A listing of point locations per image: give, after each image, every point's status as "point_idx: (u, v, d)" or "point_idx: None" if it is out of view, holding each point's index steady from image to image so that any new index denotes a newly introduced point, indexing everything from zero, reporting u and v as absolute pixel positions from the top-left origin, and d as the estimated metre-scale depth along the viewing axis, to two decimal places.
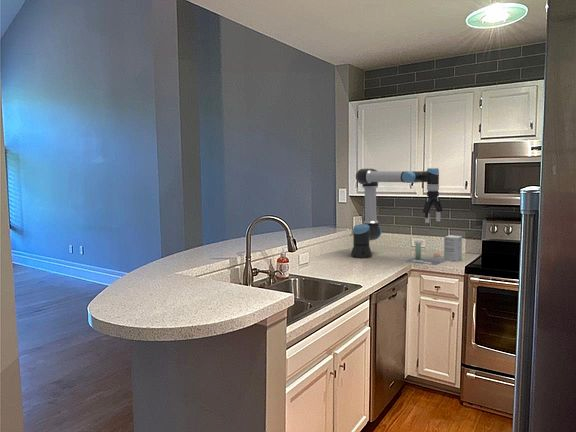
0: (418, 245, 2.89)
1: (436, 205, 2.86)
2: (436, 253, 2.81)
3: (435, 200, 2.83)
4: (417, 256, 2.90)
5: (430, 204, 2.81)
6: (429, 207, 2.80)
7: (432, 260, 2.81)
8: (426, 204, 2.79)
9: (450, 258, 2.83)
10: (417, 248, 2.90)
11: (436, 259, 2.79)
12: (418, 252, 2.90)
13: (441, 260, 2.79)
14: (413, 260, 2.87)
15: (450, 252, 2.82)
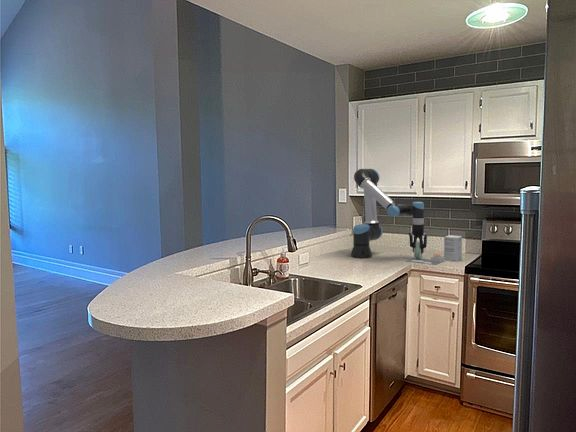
0: (418, 245, 2.89)
1: None
2: (436, 253, 2.81)
3: (418, 233, 2.89)
4: (417, 256, 2.90)
5: (414, 238, 2.92)
6: (413, 242, 2.92)
7: (432, 260, 2.81)
8: None
9: (450, 258, 2.83)
10: (417, 248, 2.90)
11: (436, 259, 2.79)
12: (418, 252, 2.90)
13: (441, 260, 2.79)
14: (413, 260, 2.87)
15: (450, 252, 2.82)
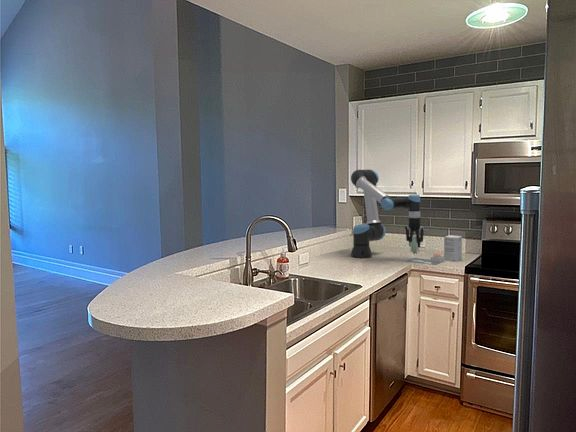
0: (414, 238, 2.83)
1: None
2: (436, 253, 2.81)
3: (414, 226, 2.83)
4: (414, 250, 2.84)
5: None
6: None
7: (432, 260, 2.81)
8: None
9: (450, 258, 2.83)
10: (414, 242, 2.84)
11: (436, 259, 2.79)
12: (415, 246, 2.84)
13: (441, 260, 2.79)
14: (413, 260, 2.87)
15: (450, 252, 2.82)
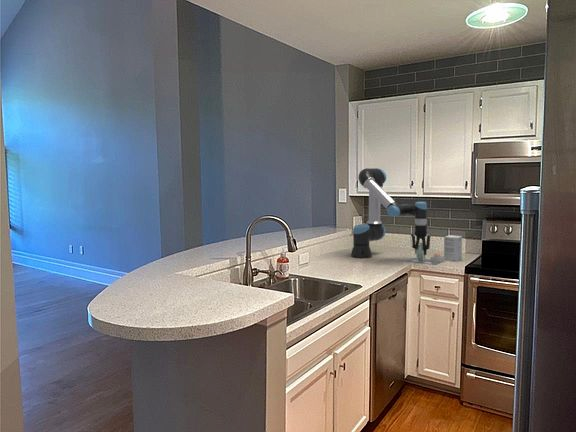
0: (420, 246, 2.81)
1: None
2: (436, 253, 2.81)
3: (420, 234, 2.80)
4: (420, 258, 2.82)
5: None
6: (416, 243, 2.83)
7: (432, 260, 2.81)
8: None
9: (450, 258, 2.83)
10: (420, 249, 2.81)
11: (436, 259, 2.79)
12: (421, 254, 2.81)
13: (441, 260, 2.79)
14: (413, 260, 2.87)
15: (450, 252, 2.82)
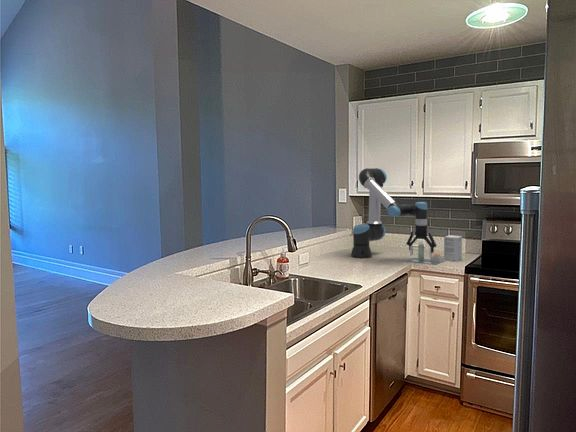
0: (421, 246, 2.81)
1: None
2: (436, 253, 2.81)
3: (421, 235, 2.80)
4: (420, 258, 2.82)
5: None
6: (412, 240, 2.85)
7: (432, 260, 2.81)
8: None
9: (450, 258, 2.83)
10: (420, 250, 2.81)
11: (436, 259, 2.79)
12: (421, 254, 2.81)
13: (441, 260, 2.79)
14: (413, 260, 2.87)
15: (450, 252, 2.82)
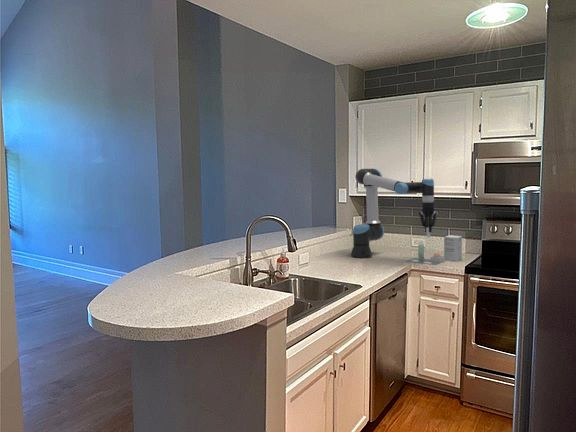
0: (421, 246, 2.81)
1: None
2: (436, 253, 2.81)
3: (428, 211, 2.78)
4: (420, 258, 2.82)
5: (425, 217, 2.80)
6: (425, 221, 2.80)
7: (432, 260, 2.81)
8: None
9: (450, 258, 2.83)
10: (420, 250, 2.81)
11: (436, 259, 2.79)
12: (421, 254, 2.81)
13: (441, 260, 2.79)
14: (413, 260, 2.87)
15: (450, 252, 2.82)
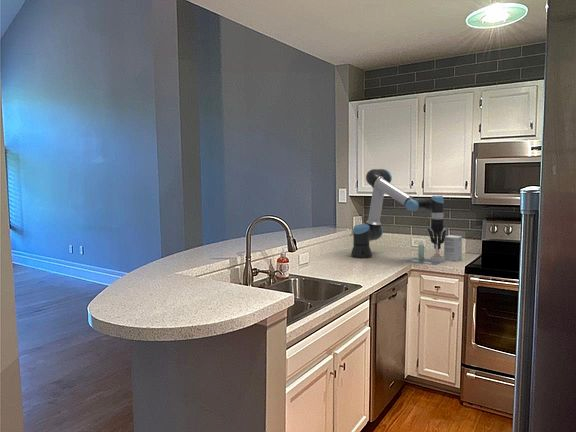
0: (421, 246, 2.81)
1: None
2: (436, 254, 2.81)
3: (437, 228, 2.78)
4: (420, 258, 2.82)
5: (434, 234, 2.81)
6: (434, 237, 2.81)
7: (432, 260, 2.81)
8: None
9: (450, 258, 2.83)
10: (420, 250, 2.81)
11: (436, 259, 2.79)
12: (421, 254, 2.81)
13: (441, 260, 2.79)
14: (413, 260, 2.87)
15: (450, 252, 2.82)
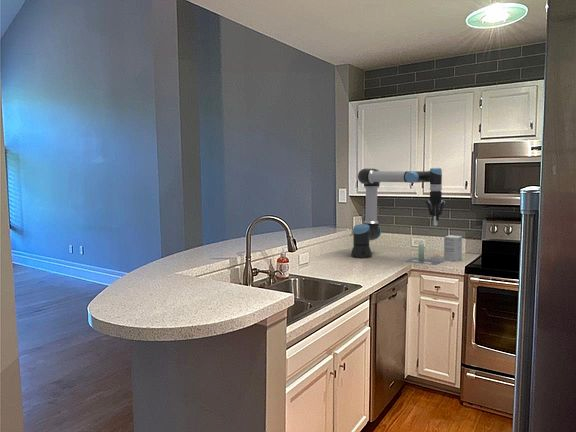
0: (421, 246, 2.81)
1: None
2: (436, 254, 2.81)
3: (435, 200, 2.82)
4: (420, 258, 2.82)
5: (432, 206, 2.84)
6: (432, 209, 2.84)
7: (432, 260, 2.81)
8: None
9: (450, 258, 2.83)
10: (420, 250, 2.81)
11: (436, 259, 2.79)
12: (421, 254, 2.81)
13: (441, 260, 2.79)
14: (413, 260, 2.87)
15: (450, 252, 2.82)
